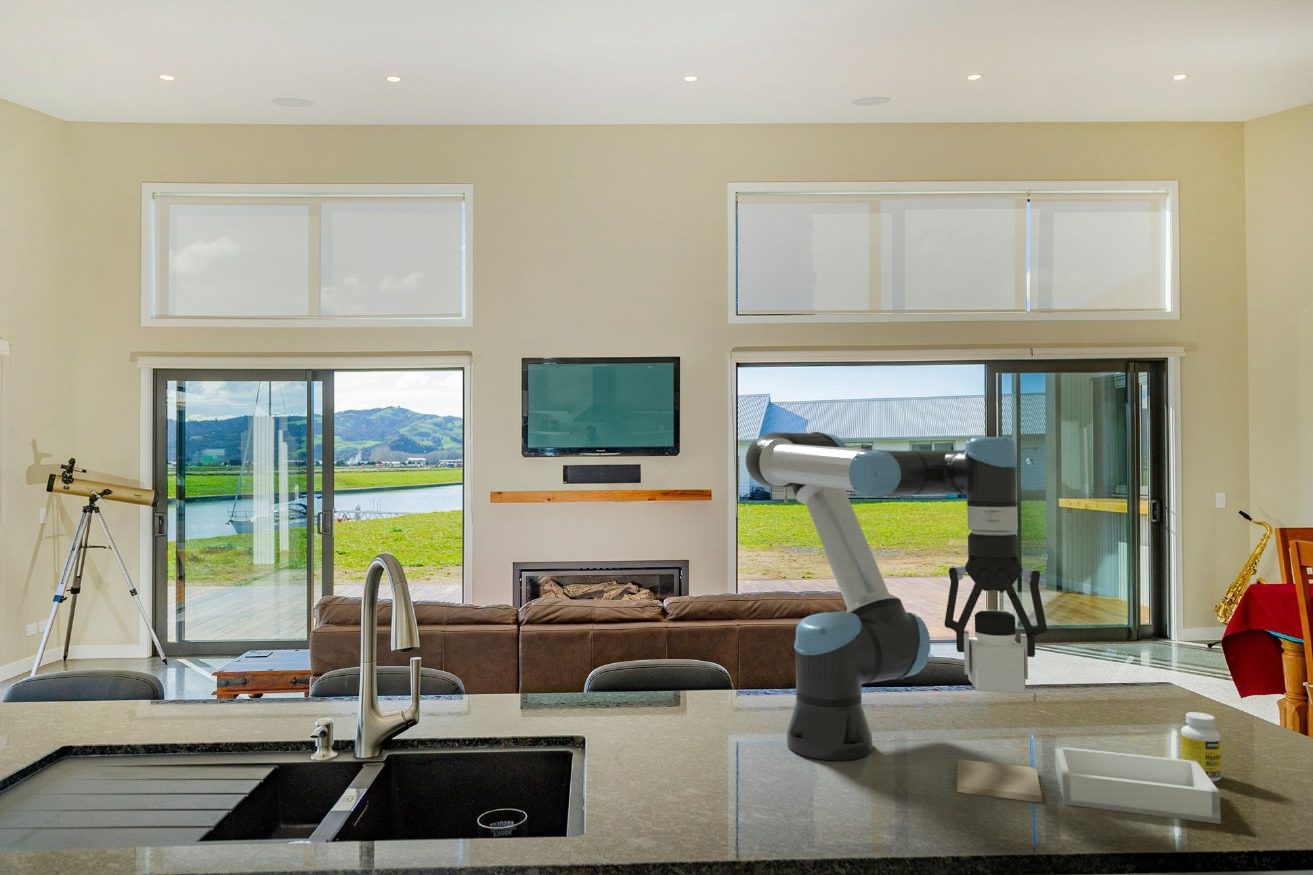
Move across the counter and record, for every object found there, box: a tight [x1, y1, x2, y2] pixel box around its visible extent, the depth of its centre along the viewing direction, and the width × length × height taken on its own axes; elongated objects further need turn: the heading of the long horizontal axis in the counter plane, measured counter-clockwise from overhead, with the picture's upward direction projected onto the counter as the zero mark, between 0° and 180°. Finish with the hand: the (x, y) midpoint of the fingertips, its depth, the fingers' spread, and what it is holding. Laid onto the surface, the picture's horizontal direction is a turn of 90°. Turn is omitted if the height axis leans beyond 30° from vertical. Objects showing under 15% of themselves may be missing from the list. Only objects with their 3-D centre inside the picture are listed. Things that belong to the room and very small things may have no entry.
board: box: [956, 758, 1043, 803], centre depth 132 cm, size 12×12×1 cm
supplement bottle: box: [1180, 711, 1222, 783], centre depth 134 cm, size 5×5×10 cm
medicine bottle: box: [968, 609, 1026, 694], centre depth 132 cm, size 7×7×12 cm
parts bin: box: [1054, 745, 1222, 825], centre depth 126 cm, size 20×13×4 cm, turn 69°
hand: (995, 674), depth 133 cm, fingers closed on medicine bottle, 8 cm apart
